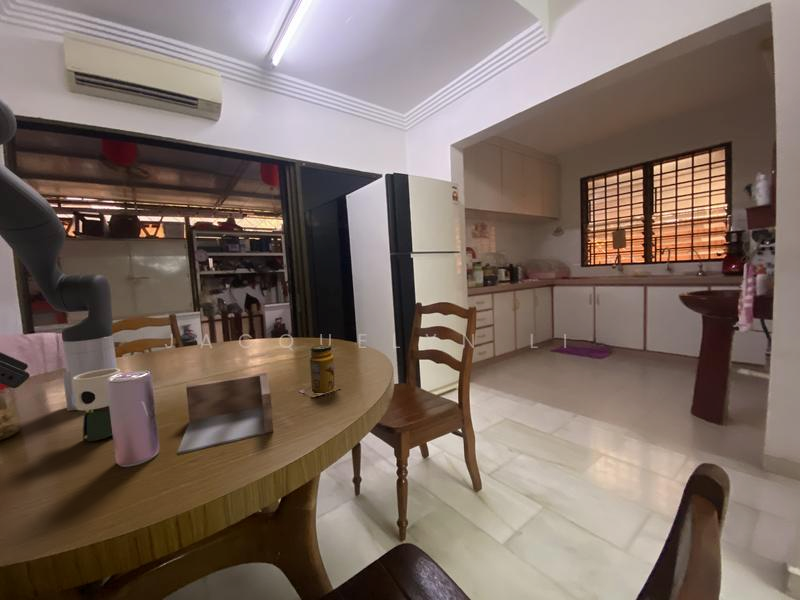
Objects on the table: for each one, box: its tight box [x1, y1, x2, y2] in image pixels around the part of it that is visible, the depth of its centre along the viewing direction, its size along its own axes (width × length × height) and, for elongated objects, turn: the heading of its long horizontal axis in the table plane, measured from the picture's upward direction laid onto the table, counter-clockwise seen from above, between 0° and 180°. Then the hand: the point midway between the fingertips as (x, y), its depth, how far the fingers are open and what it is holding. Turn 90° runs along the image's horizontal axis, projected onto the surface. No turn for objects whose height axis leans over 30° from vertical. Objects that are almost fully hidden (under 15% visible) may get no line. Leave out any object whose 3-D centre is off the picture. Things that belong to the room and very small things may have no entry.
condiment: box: [299, 344, 336, 394], centre depth 85 cm, size 7×8×12 cm
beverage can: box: [107, 369, 161, 468], centre depth 56 cm, size 6×6×15 cm
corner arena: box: [177, 372, 274, 455], centre depth 67 cm, size 16×15×8 cm
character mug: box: [72, 368, 122, 442], centre depth 65 cm, size 11×7×13 cm, turn 73°
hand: (23, 376), depth 46 cm, fingers open, 8 cm apart
